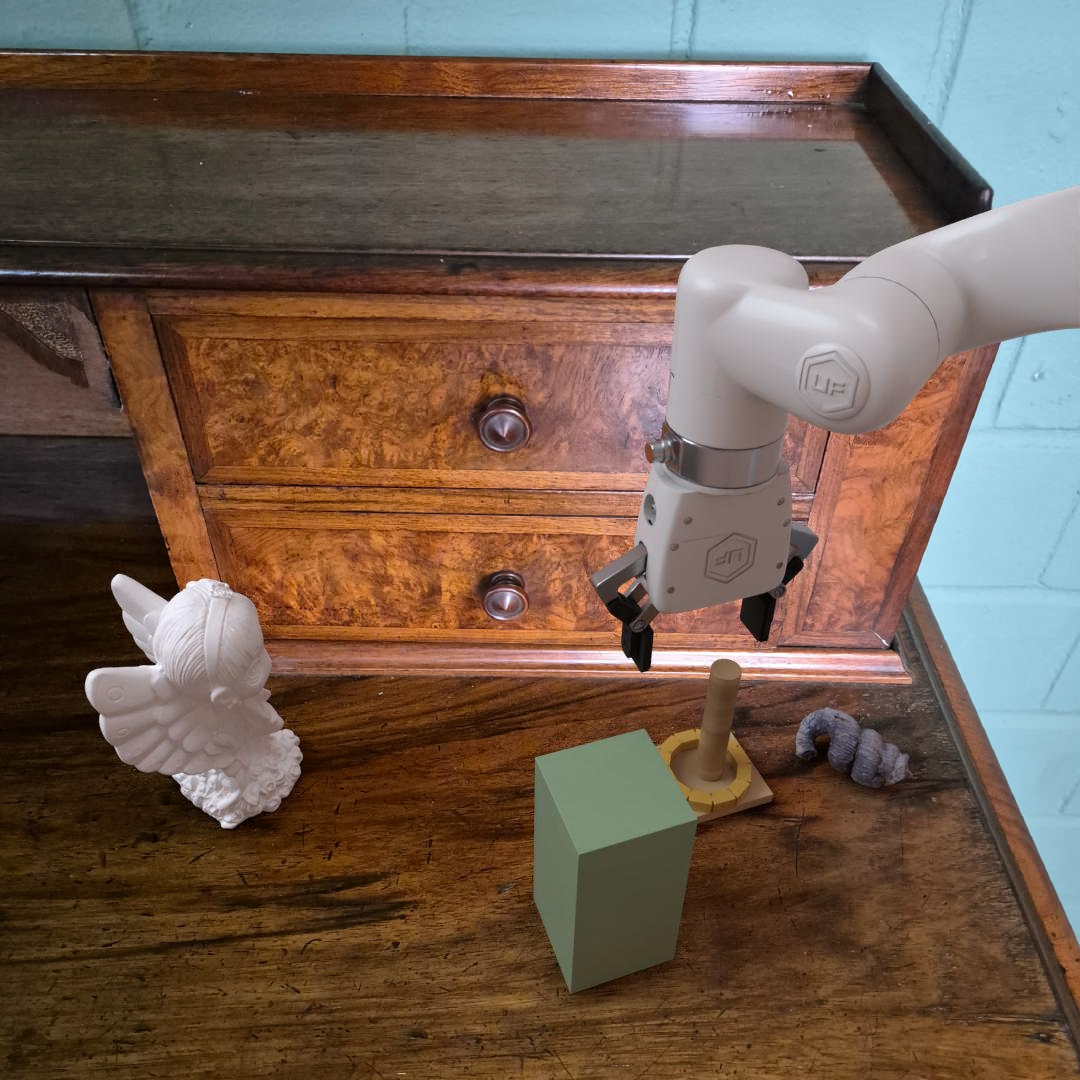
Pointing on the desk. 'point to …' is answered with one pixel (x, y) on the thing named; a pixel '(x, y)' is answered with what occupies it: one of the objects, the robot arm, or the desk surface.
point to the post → (718, 745)
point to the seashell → (853, 748)
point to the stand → (610, 857)
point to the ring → (718, 798)
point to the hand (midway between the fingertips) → (696, 644)
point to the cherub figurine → (198, 700)
